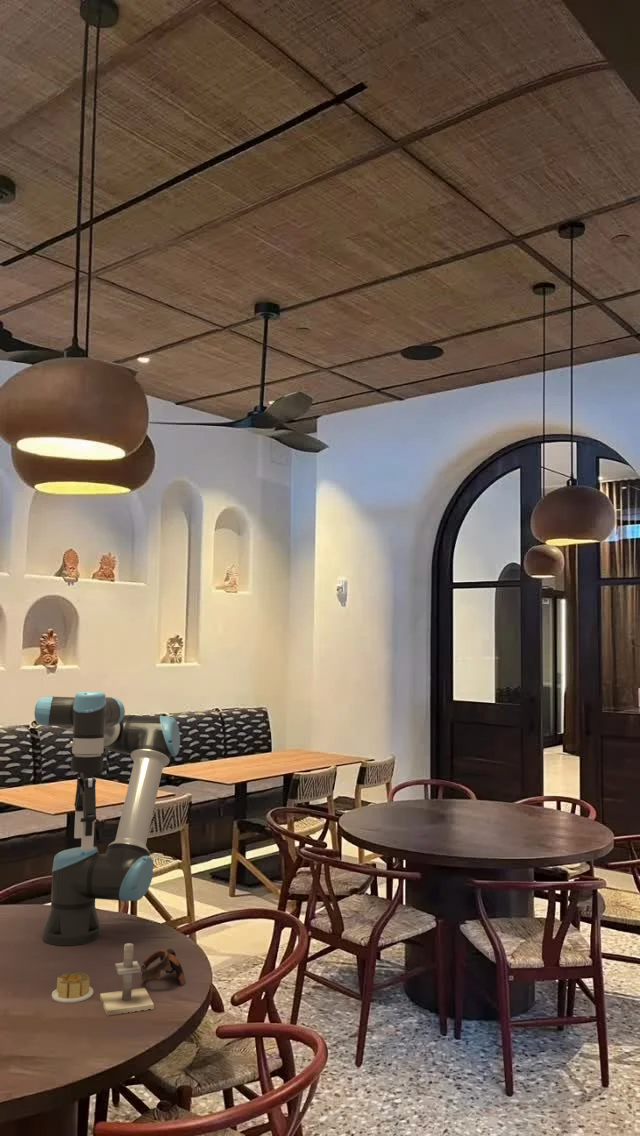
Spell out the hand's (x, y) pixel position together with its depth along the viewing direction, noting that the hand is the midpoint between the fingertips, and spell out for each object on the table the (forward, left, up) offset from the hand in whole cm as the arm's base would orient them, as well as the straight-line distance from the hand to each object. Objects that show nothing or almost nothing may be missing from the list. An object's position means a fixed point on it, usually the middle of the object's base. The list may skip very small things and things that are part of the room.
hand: (83, 843), depth 208 cm
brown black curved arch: (+11, +19, -31) cm, 38 cm away
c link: (+12, -3, -30) cm, 33 cm away
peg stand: (+21, +8, -31) cm, 38 cm away
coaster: (+12, -2, -31) cm, 33 cm away
